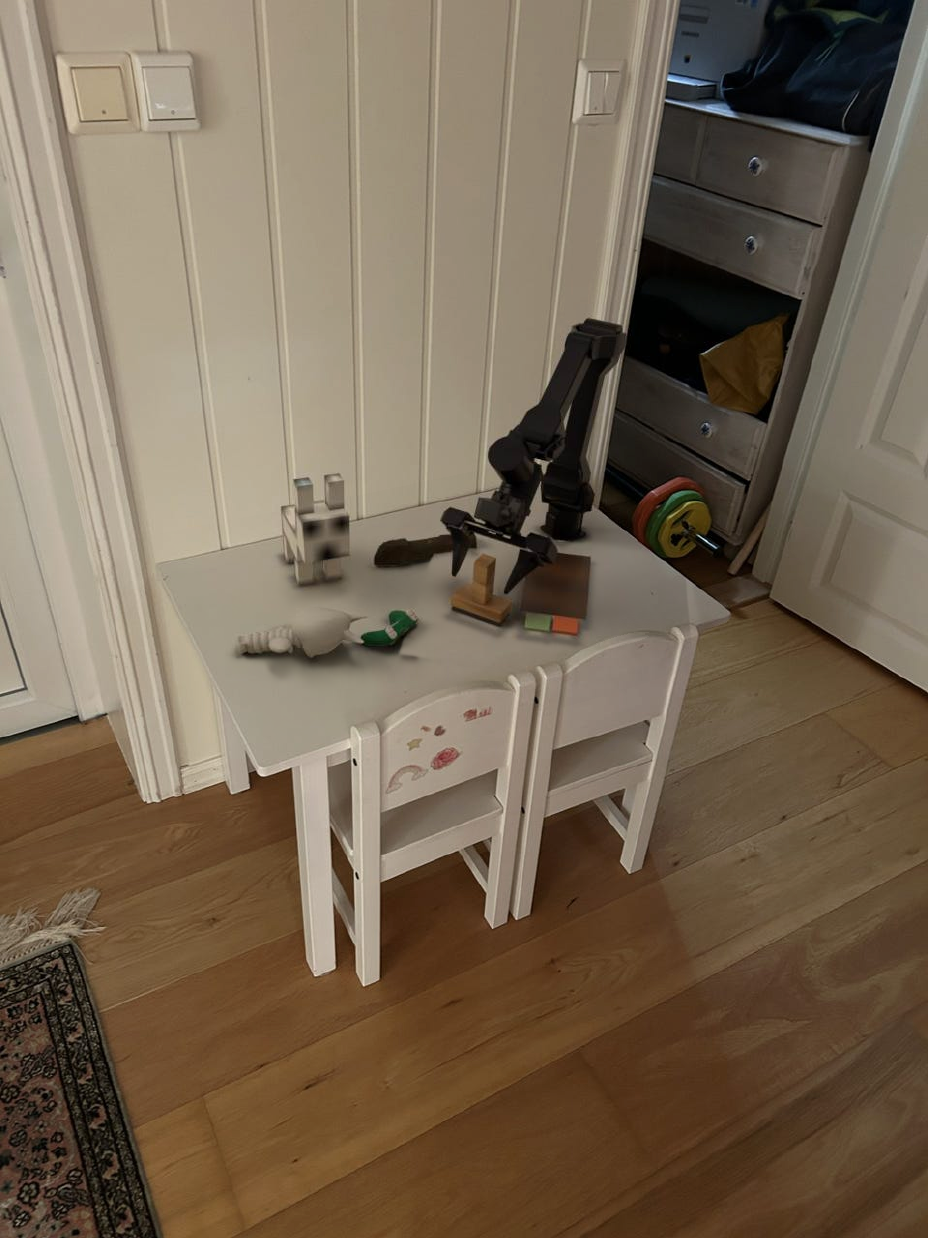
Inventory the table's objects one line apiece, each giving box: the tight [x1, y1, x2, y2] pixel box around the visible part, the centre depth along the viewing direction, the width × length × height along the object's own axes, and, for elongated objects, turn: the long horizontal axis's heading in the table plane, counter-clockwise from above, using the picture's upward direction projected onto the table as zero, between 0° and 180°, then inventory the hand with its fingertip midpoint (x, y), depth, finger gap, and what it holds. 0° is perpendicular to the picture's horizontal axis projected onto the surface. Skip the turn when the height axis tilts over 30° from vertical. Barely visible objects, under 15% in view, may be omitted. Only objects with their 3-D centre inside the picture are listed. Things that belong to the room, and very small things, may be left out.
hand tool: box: [373, 533, 478, 567], centre depth 165 cm, size 19×4×5 cm, turn 111°
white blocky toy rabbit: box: [280, 472, 351, 587], centre depth 155 cm, size 8×18×20 cm, turn 23°
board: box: [518, 552, 592, 621], centre depth 160 cm, size 20×11×2 cm, turn 171°
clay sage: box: [523, 612, 552, 634], centre depth 149 cm, size 4×4×2 cm
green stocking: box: [360, 608, 419, 647], centre depth 145 cm, size 9×4×6 cm
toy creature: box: [236, 607, 370, 659], centre depth 140 cm, size 13×7×20 cm
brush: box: [450, 553, 514, 628], centre depth 148 cm, size 4×9×12 cm, turn 61°
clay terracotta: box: [551, 616, 580, 637], centre depth 149 cm, size 4×4×2 cm
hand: (478, 584), depth 146 cm, fingers open, 9 cm apart
